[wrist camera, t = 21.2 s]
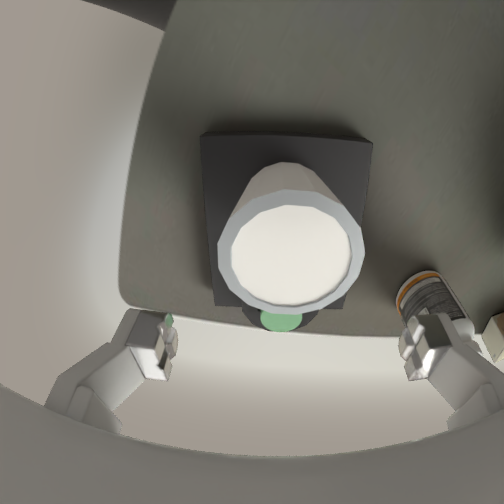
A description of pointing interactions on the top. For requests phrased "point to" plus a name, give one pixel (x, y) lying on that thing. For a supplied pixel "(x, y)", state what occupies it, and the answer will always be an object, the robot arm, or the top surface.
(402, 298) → the pill bottle
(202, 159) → the grey push button base
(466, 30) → the top surface
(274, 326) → the button
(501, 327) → the box
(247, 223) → the shot glass
